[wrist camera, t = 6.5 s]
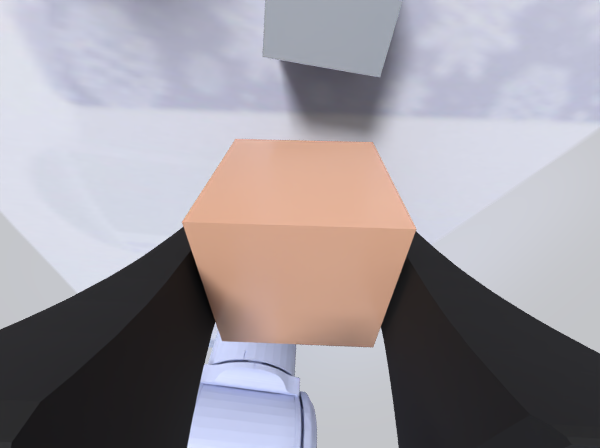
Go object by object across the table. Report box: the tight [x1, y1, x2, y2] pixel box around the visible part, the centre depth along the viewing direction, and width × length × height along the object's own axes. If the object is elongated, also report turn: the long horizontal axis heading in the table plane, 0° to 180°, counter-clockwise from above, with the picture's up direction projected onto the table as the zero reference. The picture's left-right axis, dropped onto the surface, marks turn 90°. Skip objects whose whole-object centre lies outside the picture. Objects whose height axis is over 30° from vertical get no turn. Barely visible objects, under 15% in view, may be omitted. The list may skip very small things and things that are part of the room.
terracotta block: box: [182, 139, 416, 347], centre depth 9 cm, size 5×5×5 cm
